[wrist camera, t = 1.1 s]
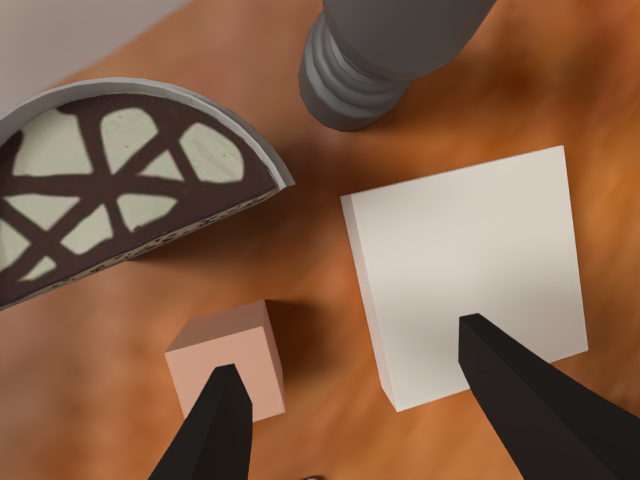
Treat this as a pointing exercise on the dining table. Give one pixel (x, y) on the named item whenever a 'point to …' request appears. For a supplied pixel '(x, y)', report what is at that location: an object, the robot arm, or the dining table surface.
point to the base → (466, 268)
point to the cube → (229, 356)
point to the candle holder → (379, 53)
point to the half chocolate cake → (118, 177)
